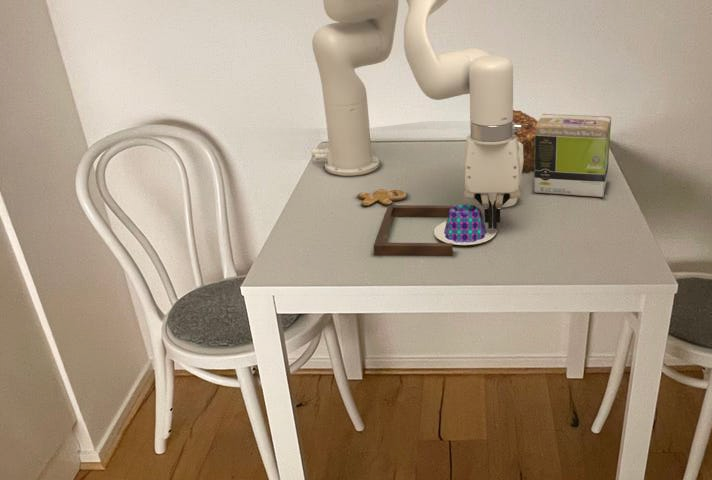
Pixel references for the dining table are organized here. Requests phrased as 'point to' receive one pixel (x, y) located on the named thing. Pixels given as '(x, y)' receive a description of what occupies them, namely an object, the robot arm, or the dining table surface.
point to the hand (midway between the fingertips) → (492, 225)
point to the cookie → (382, 196)
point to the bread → (526, 138)
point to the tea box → (571, 154)
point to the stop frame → (411, 248)
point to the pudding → (464, 226)
